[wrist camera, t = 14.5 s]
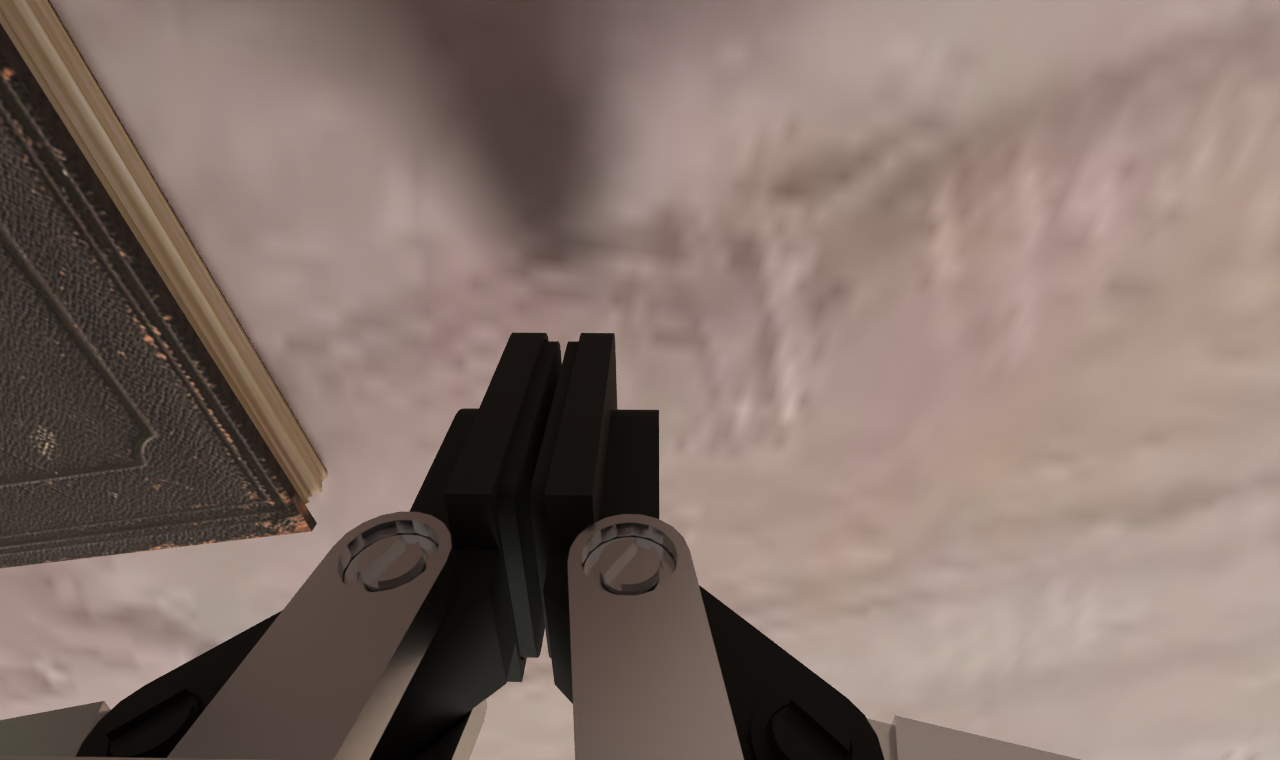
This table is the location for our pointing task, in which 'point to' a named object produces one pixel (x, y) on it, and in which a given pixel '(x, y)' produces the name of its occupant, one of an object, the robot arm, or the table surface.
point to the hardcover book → (118, 341)
